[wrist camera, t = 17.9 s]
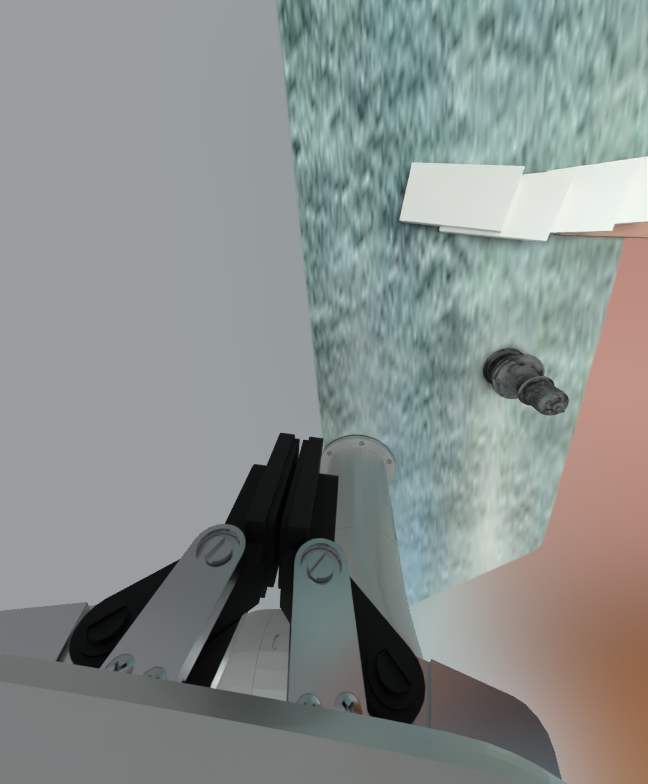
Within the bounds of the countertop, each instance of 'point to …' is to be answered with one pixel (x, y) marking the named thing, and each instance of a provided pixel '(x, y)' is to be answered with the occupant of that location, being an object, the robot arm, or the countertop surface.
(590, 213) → the domino
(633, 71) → the countertop surface
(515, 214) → the domino
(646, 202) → the domino
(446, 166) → the domino
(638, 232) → the end domino
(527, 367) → the dark grey ornamental finial
